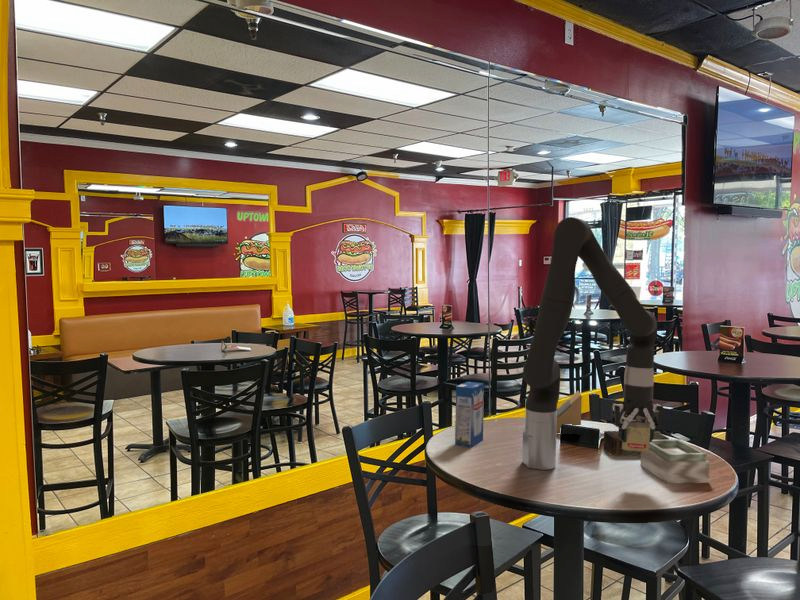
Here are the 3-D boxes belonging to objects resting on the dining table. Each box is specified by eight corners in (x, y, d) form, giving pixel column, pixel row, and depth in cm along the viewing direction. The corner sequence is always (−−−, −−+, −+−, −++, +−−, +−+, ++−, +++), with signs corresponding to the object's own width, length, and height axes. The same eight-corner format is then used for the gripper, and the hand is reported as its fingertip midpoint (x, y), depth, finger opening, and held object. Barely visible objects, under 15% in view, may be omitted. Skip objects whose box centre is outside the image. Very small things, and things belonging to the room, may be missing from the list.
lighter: (623, 450, 155) (624, 415, 154) (620, 446, 159) (622, 411, 158) (650, 453, 154) (652, 417, 153) (647, 448, 157) (649, 413, 157)
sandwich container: (535, 427, 214) (536, 388, 213) (577, 429, 211) (578, 390, 210) (537, 433, 205) (538, 393, 205) (580, 436, 203) (581, 394, 202)
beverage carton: (669, 456, 181) (670, 436, 181) (611, 456, 180) (612, 436, 180) (657, 448, 189) (658, 429, 188) (601, 449, 188) (602, 429, 188)
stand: (667, 483, 156) (668, 455, 156) (640, 465, 171) (641, 439, 171) (708, 482, 157) (709, 454, 157) (678, 464, 172) (679, 438, 172)
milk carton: (472, 447, 187) (472, 388, 186) (455, 444, 191) (455, 386, 190) (483, 440, 196) (484, 383, 195) (466, 437, 199) (467, 381, 198)
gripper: (656, 380, 159) (653, 437, 160) (607, 379, 158) (604, 437, 159) (671, 385, 152) (667, 445, 153) (619, 385, 151) (616, 445, 152)
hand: (635, 441), depth 156 cm, fingers closed on lighter, 7 cm apart
